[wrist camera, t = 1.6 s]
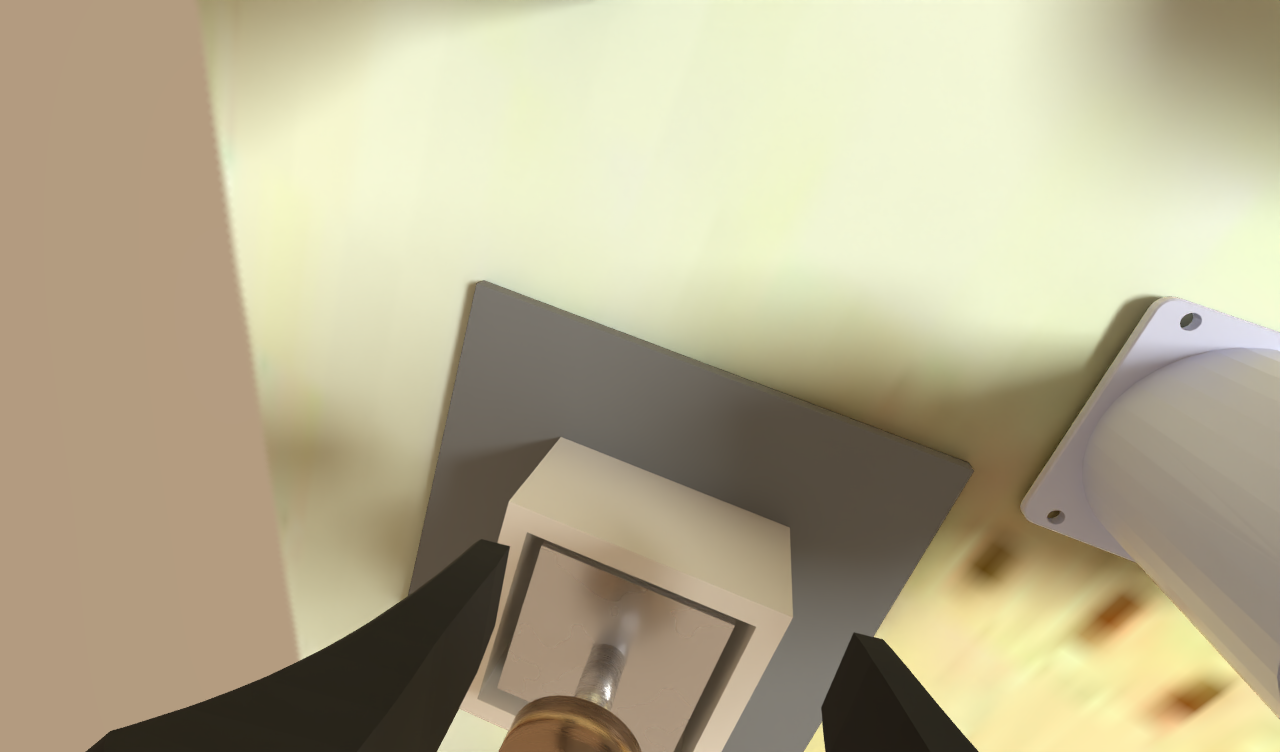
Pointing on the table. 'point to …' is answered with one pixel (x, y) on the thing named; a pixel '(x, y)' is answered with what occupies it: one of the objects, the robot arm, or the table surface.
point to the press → (647, 571)
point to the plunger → (606, 659)
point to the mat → (693, 477)
